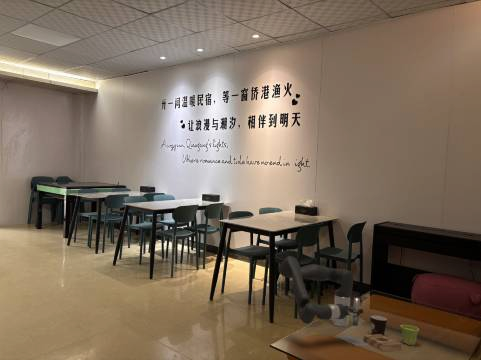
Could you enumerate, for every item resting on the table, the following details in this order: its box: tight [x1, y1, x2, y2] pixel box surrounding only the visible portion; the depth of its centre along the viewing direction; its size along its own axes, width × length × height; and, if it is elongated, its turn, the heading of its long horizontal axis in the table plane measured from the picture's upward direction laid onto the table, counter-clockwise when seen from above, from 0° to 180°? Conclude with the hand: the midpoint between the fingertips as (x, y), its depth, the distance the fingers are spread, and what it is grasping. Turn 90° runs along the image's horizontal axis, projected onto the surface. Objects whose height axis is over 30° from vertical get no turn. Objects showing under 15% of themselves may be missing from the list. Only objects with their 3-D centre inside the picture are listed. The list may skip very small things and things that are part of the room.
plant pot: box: [400, 324, 420, 346], centre depth 207 cm, size 9×9×9 cm
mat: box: [337, 335, 371, 347], centre depth 202 cm, size 14×10×1 cm
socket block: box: [363, 334, 402, 352], centre depth 198 cm, size 14×12×4 cm
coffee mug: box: [369, 315, 388, 336], centre depth 217 cm, size 12×9×10 cm
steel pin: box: [351, 297, 361, 327], centre depth 202 cm, size 3×3×14 cm
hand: (360, 310), depth 203 cm, fingers closed on steel pin, 3 cm apart
